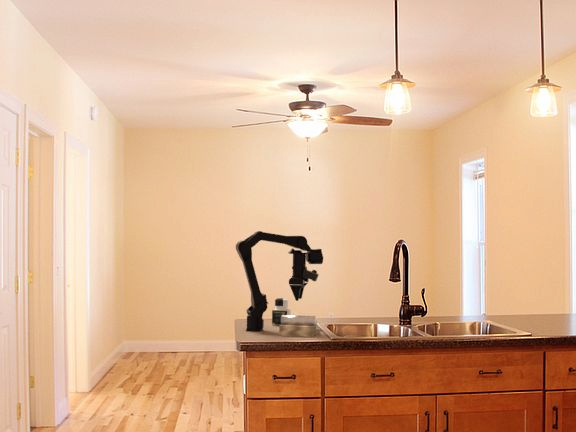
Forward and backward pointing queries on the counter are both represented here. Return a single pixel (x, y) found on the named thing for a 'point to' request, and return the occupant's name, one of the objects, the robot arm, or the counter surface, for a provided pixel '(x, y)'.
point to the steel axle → (297, 320)
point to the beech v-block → (297, 330)
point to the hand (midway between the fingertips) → (298, 299)
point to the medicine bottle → (280, 310)
